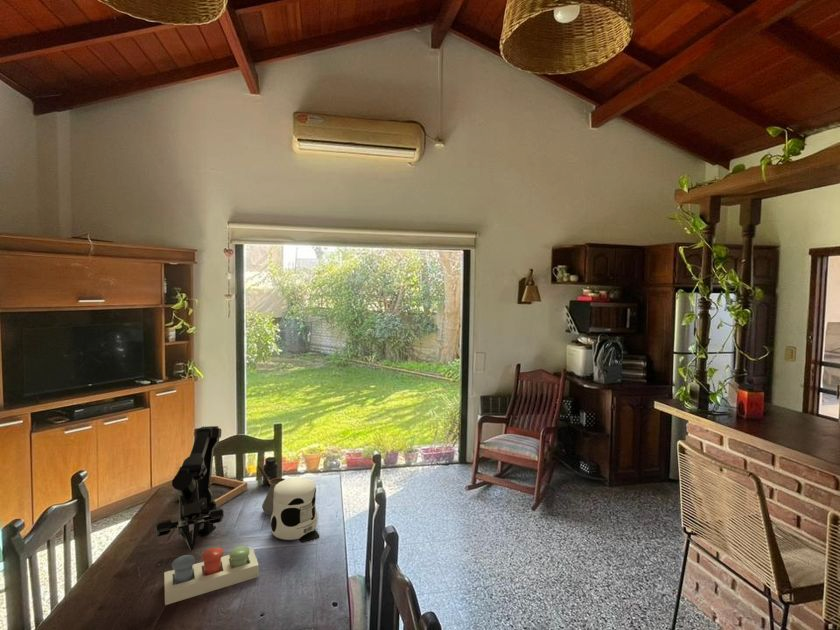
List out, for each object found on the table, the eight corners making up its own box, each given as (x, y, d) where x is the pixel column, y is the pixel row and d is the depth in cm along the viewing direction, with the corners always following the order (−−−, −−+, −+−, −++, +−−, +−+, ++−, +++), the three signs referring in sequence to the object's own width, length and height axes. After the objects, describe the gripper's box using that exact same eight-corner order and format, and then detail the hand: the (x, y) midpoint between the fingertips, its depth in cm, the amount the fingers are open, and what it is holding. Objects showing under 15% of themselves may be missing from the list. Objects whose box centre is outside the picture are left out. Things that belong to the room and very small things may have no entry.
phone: (307, 518, 174) (320, 536, 162) (307, 520, 174) (320, 538, 162) (289, 523, 170) (301, 542, 158) (289, 525, 170) (301, 544, 158)
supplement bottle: (263, 487, 199) (263, 462, 199) (261, 481, 205) (261, 457, 205) (278, 485, 203) (279, 460, 202) (276, 479, 209) (276, 455, 208)
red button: (200, 569, 137) (201, 550, 137) (221, 563, 140) (221, 545, 140) (202, 580, 132) (202, 561, 132) (224, 574, 135) (224, 555, 135)
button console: (164, 584, 134) (164, 572, 134) (252, 559, 147) (252, 548, 147) (164, 605, 125) (164, 592, 125) (258, 576, 139) (258, 564, 139)
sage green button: (228, 566, 141) (228, 549, 141) (247, 561, 145) (247, 544, 144) (230, 577, 136) (230, 559, 136) (250, 571, 140) (251, 553, 139)
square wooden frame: (178, 499, 186) (178, 492, 186) (212, 481, 204) (212, 475, 204) (215, 508, 180) (215, 501, 180) (247, 488, 198) (247, 482, 198)
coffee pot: (296, 511, 180) (297, 476, 179) (271, 521, 171) (271, 485, 170) (269, 494, 194) (269, 461, 193) (244, 503, 185) (245, 469, 184)
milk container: (279, 518, 174) (280, 475, 172) (322, 520, 173) (323, 477, 172) (263, 544, 156) (263, 496, 155) (310, 546, 156) (311, 498, 155)
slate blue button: (172, 577, 133) (172, 558, 133) (193, 571, 136) (193, 552, 136) (172, 588, 128) (172, 569, 128) (195, 582, 131) (195, 563, 131)
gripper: (156, 497, 131) (157, 551, 122) (222, 483, 141) (228, 533, 133) (155, 510, 138) (156, 562, 129) (219, 497, 148) (223, 544, 140)
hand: (192, 550), depth 133 cm, fingers closed
